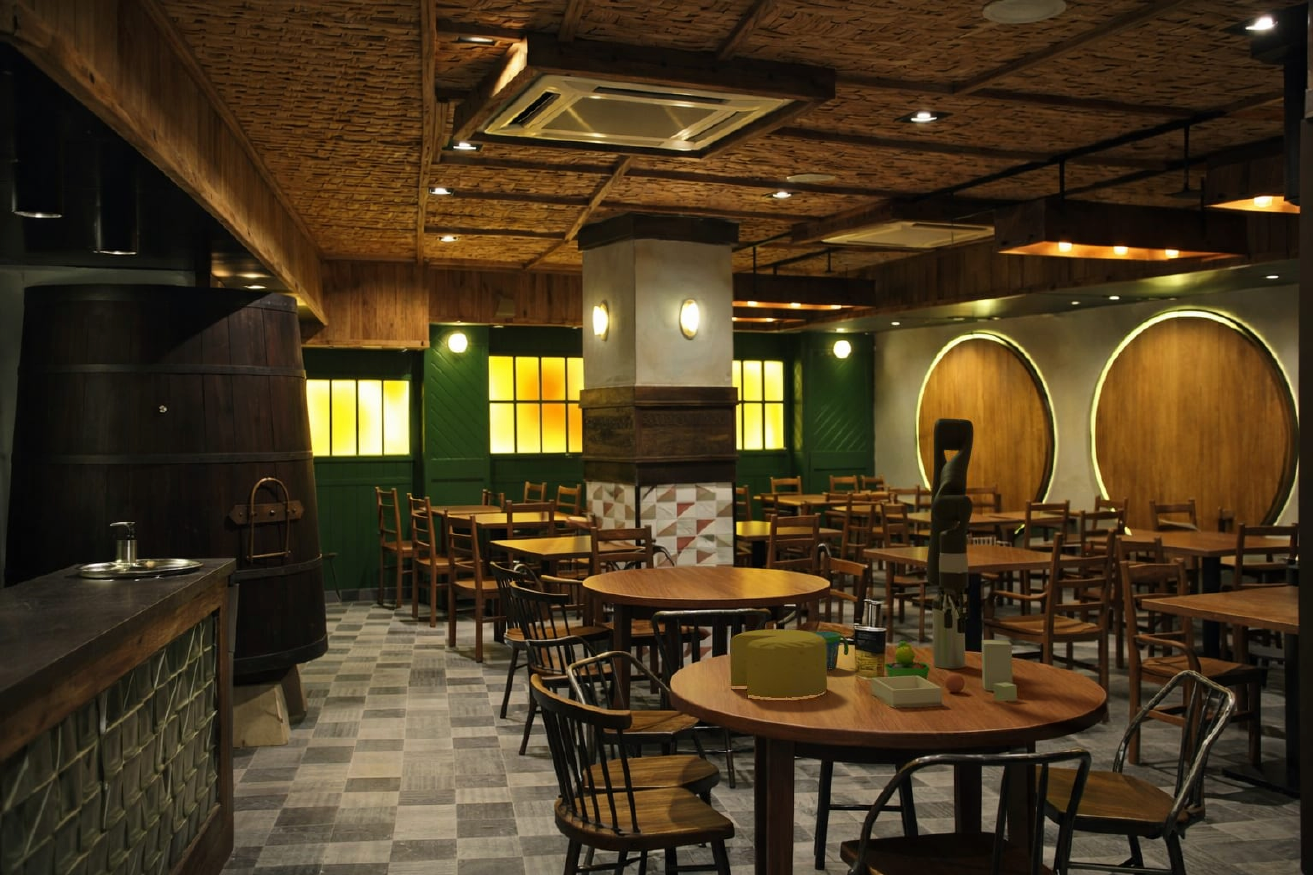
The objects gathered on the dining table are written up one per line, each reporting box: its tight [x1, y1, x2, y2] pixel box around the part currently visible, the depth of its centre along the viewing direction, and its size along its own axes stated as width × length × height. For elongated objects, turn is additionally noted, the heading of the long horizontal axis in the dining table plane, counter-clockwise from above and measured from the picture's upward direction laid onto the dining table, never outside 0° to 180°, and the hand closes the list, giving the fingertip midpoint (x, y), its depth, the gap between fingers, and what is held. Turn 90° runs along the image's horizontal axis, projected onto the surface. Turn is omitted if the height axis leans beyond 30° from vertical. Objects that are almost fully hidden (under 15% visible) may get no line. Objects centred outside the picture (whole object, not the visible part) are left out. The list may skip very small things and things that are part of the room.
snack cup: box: [811, 631, 849, 670], centre depth 338 cm, size 16×10×10 cm
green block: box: [993, 682, 1018, 702], centre depth 293 cm, size 4×4×4 cm
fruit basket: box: [884, 640, 931, 681], centre depth 315 cm, size 11×9×11 cm
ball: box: [944, 672, 965, 693], centre depth 302 cm, size 5×5×5 cm
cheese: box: [729, 628, 828, 698], centre depth 308 cm, size 26×26×15 cm
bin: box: [870, 676, 943, 708], centre depth 294 cm, size 16×13×4 cm
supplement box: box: [981, 639, 1013, 692], centre depth 306 cm, size 7×7×13 cm
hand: (954, 630), depth 302 cm, fingers open, 8 cm apart
